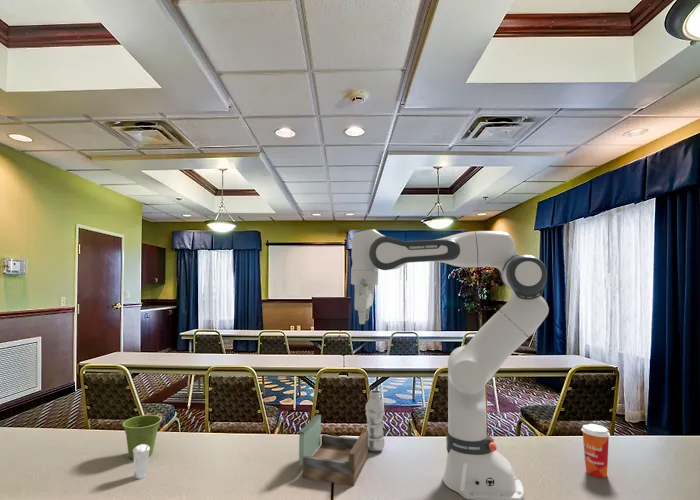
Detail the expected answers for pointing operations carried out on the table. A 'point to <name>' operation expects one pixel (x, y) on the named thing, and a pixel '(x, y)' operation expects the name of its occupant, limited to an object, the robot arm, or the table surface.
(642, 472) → the table surface
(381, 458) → the table surface
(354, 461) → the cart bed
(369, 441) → the plastic bottle
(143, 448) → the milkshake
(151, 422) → the plant pot
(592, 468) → the paper cup
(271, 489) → the table surface
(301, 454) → the panel
